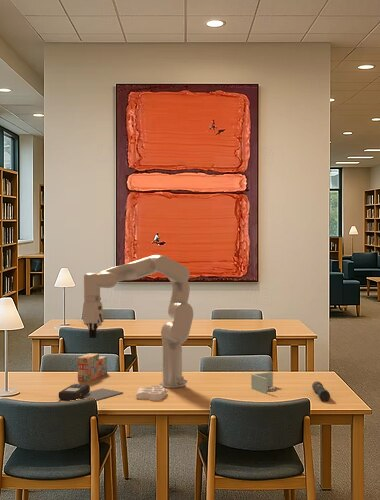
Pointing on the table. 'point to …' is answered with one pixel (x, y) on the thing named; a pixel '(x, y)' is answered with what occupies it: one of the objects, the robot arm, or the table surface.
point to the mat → (101, 394)
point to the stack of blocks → (91, 366)
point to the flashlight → (321, 391)
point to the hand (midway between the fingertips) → (92, 337)
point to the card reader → (74, 392)
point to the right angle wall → (262, 382)
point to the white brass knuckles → (151, 392)
